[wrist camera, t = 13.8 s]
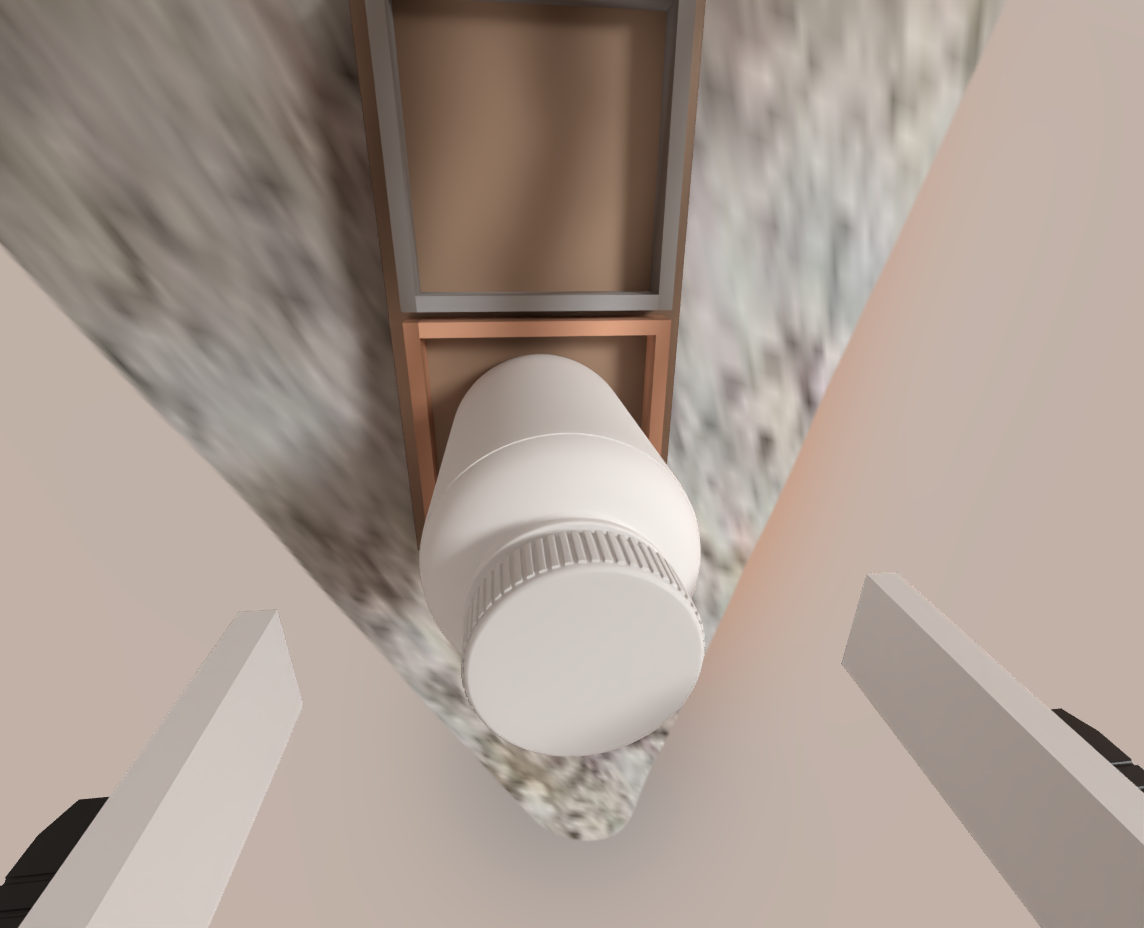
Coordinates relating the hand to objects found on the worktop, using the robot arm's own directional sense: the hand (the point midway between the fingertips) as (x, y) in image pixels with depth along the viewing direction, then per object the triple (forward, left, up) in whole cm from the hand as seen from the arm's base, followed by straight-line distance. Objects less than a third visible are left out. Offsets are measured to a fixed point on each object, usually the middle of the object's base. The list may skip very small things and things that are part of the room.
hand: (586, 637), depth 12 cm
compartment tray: (0, -5, -15) cm, 16 cm away
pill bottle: (0, 0, -14) cm, 14 cm away
